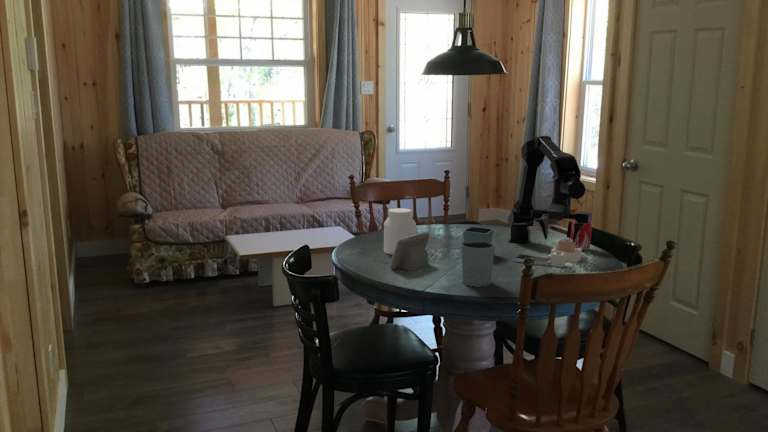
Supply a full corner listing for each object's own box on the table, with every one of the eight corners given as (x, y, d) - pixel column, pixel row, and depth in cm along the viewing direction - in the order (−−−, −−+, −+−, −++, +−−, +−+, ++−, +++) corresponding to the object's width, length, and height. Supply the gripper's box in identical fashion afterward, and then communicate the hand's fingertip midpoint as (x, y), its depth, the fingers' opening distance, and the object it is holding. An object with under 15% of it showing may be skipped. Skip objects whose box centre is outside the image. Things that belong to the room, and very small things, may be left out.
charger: (557, 255, 231) (558, 240, 230) (561, 252, 235) (562, 238, 234) (570, 256, 229) (571, 242, 228) (574, 254, 233) (575, 239, 232)
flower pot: (493, 253, 238) (494, 228, 236) (486, 258, 230) (487, 233, 229) (469, 250, 242) (470, 226, 240) (461, 256, 234) (462, 231, 232)
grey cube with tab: (550, 265, 222) (551, 252, 221) (554, 263, 225) (555, 250, 224) (561, 267, 220) (562, 254, 219) (564, 264, 223) (565, 251, 222)
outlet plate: (547, 258, 231) (548, 250, 230) (555, 252, 239) (556, 244, 239) (576, 262, 226) (577, 254, 225) (584, 256, 234) (584, 248, 234)
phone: (513, 261, 227) (513, 257, 227) (519, 257, 232) (519, 253, 232) (548, 266, 221) (548, 262, 221) (553, 262, 226) (553, 258, 226)
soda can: (591, 251, 241) (593, 219, 238) (570, 250, 242) (572, 218, 240) (589, 247, 247) (591, 215, 245) (569, 246, 249) (571, 214, 246)
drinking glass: (456, 285, 200) (457, 246, 197) (464, 276, 209) (465, 239, 207) (490, 289, 196) (491, 249, 194) (496, 279, 205) (498, 241, 203)
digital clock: (419, 259, 230) (419, 229, 228) (437, 264, 223) (438, 233, 221) (382, 267, 219) (383, 235, 217) (401, 273, 213) (401, 240, 211)
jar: (390, 255, 234) (391, 213, 231) (379, 249, 242) (379, 209, 240) (419, 252, 239) (420, 211, 236) (407, 246, 247) (408, 206, 244)
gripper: (526, 195, 215) (524, 242, 218) (585, 200, 206) (582, 249, 209) (537, 190, 225) (535, 236, 228) (593, 195, 216) (590, 242, 219)
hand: (559, 240), depth 221 cm, fingers open, 9 cm apart
